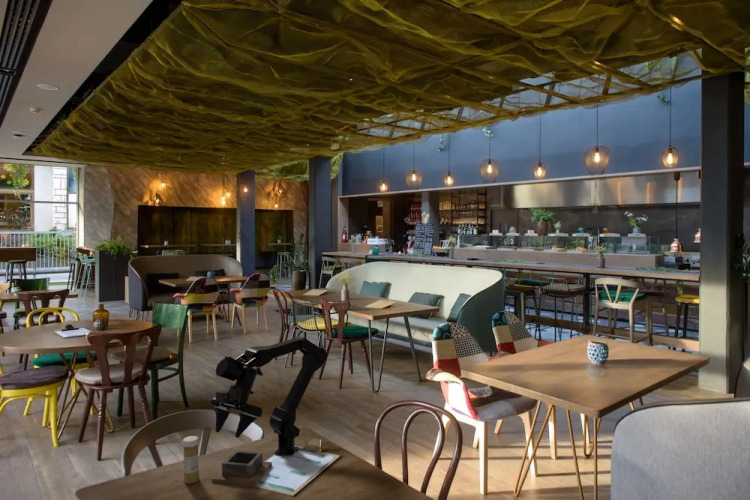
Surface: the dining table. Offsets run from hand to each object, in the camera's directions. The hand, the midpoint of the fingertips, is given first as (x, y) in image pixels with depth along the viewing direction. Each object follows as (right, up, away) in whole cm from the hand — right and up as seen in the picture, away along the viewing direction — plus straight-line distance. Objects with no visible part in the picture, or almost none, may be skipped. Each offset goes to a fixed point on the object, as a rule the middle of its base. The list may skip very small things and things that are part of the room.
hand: (226, 434), depth 163 cm
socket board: (+4, -14, +3) cm, 15 cm away
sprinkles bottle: (-11, -14, -1) cm, 18 cm away
